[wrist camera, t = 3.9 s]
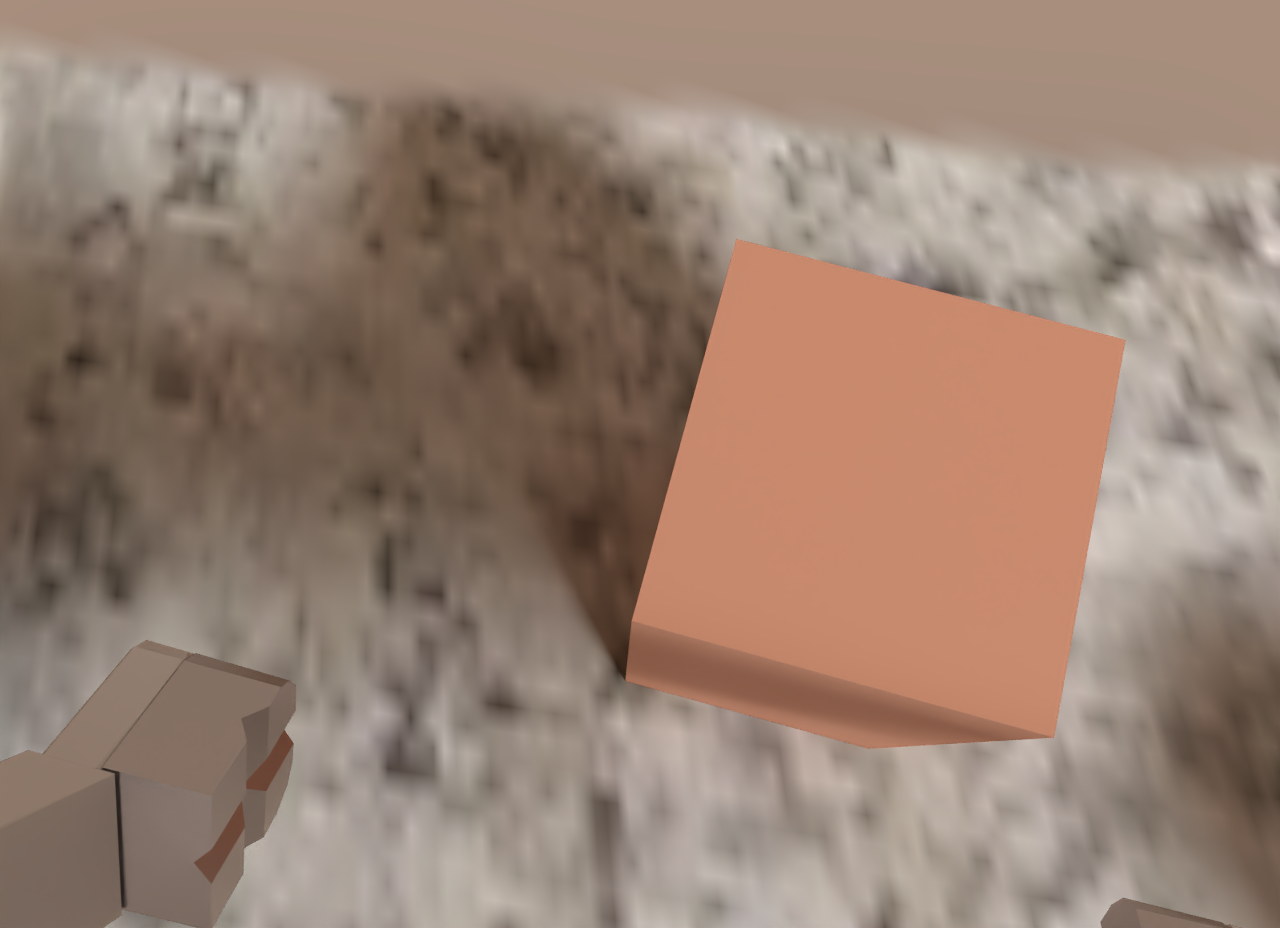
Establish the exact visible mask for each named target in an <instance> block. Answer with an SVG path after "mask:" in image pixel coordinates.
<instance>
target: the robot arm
mask: <svg viewBox="0 0 1280 928" xmlns="http://www.w3.org/2000/svg"><path fill="white" fill-rule="evenodd" d="M295 710H296V685H295V684H294V683H293V682H291V681H290V680H287V679H283V678H280V677H276V676H273V675H269V674H266V673H262V672H259V671H256V670H252V669H249V668H245V667H242V666H238V665H235V664H231V663H228V662H224V661H221V660H217V659H214V658H211V657H207V656H204V655H200V654H197V653H195V654H193V653H190V652H186V651H183V650H179V649H176V648H172V647H169V646H165V645H162V644H159V643H155V642H152V641H148V640H146V641H144V642H142V643H141V644H139V645H137V646H135V647H134V648H132V649H131V650H130V651H129V652H128V653H127V655H126V656H125V657H124V658H123V659H122V660H121V662H120V663H119V664H118V665H117V666H116V668H115V669H114V670H113V671H112V672H111V674H110V675H109V676H108V677H107V678H106V679H105V681H104V682H103V683H102V684H101V685H100V687H99V688H98V689H97V690H96V691H95V692H94V694H93V695H92V696H91V697H90V698H89V700H88V701H87V702H86V703H85V704H84V705H83V707H82V708H81V709H80V710H79V711H78V713H77V714H76V715H75V716H74V717H73V718H72V720H71V721H70V722H69V723H68V724H67V726H66V727H65V728H64V729H63V730H62V732H61V733H60V734H59V735H58V736H57V737H56V739H55V740H54V741H53V742H52V743H51V745H50V746H49V747H48V748H47V749H46V750H45V752H44V753H43V754H41V753H37V752H33V751H28V750H27V751H25V752H22V753H20V754H18V755H15V756H13V757H11V758H8V759H6V760H4V761H1V762H0V928H104V927H105V926H107V925H108V924H110V923H111V922H113V921H114V920H116V919H117V918H119V917H120V916H121V915H122V910H126V911H130V912H134V913H138V914H142V915H146V916H151V917H155V918H159V919H163V920H167V921H172V922H176V923H180V924H184V925H188V926H192V927H197V928H213V926H214V924H215V923H216V921H217V919H218V917H219V915H220V914H221V912H222V910H223V908H224V907H225V905H226V903H227V901H228V900H229V898H230V896H231V894H232V893H233V891H234V889H235V887H236V886H237V884H238V882H239V880H240V879H241V877H242V875H243V866H244V848H245V847H247V846H248V845H250V844H252V843H254V842H256V841H258V840H259V839H261V838H263V837H264V836H265V834H266V832H267V830H268V828H269V827H270V825H271V823H272V821H273V819H274V817H275V815H276V814H277V811H278V808H279V806H280V803H281V800H282V798H283V795H284V792H285V790H286V787H287V784H288V780H289V775H290V770H291V766H292V759H293V745H294V743H293V742H292V740H291V739H290V738H289V736H288V735H287V733H286V732H285V730H284V729H285V727H286V726H287V724H288V722H289V721H290V719H291V717H292V716H293V714H294V712H295ZM1101 926H1102V928H1241V927H1238V926H1234V925H1225V924H1223V923H1221V922H1218V921H1214V920H1210V919H1206V918H1202V917H1198V916H1194V915H1190V914H1186V913H1182V912H1178V911H1174V910H1170V909H1166V908H1162V907H1158V906H1154V905H1150V904H1146V903H1142V902H1138V901H1134V900H1130V899H1126V898H1122V899H1120V900H1119V901H1117V902H1116V903H1114V904H1112V905H1111V907H1110V908H1109V910H1108V911H1107V913H1106V914H1105V916H1104V917H1103V919H1102V921H1101Z"/></svg>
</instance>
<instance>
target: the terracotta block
mask: <svg viewBox="0 0 1280 928" xmlns="http://www.w3.org/2000/svg"><path fill="white" fill-rule="evenodd" d="M1124 345H1125V340H1124V339H1120V338H1116V337H1112V336H1108V335H1104V334H1101V333H1097V332H1093V331H1089V330H1085V329H1081V328H1077V327H1074V326H1070V325H1066V324H1062V323H1058V322H1054V321H1050V320H1047V319H1043V318H1039V317H1035V316H1031V315H1027V314H1023V313H1020V312H1016V311H1012V310H1008V309H1004V308H1000V307H996V306H993V305H989V304H985V303H981V302H977V301H973V300H969V299H966V298H962V297H958V296H954V295H950V294H946V293H942V292H939V291H935V290H931V289H927V288H923V287H919V286H915V285H912V284H908V283H904V282H900V281H896V280H892V279H888V278H885V277H881V276H877V275H873V274H869V273H865V272H861V271H858V270H854V269H850V268H846V267H842V266H838V265H834V264H831V263H827V262H823V261H819V260H815V259H811V258H807V257H804V256H800V255H796V254H792V253H788V252H784V251H780V250H777V249H773V248H769V247H765V246H761V245H757V244H753V243H750V242H746V241H742V240H738V239H736V243H735V247H734V250H733V254H732V258H731V261H730V265H729V269H728V272H727V276H726V280H725V283H724V287H723V290H722V294H721V298H720V301H719V305H718V309H717V312H716V316H715V320H714V323H713V327H712V330H711V334H710V338H709V341H708V345H707V349H706V352H705V356H704V360H703V363H702V367H701V371H700V374H699V378H698V381H697V385H696V389H695V392H694V396H693V400H692V403H691V407H690V411H689V414H688V418H687V421H686V425H685V429H684V432H683V436H682V440H681V443H680V447H679V451H678V454H677V458H676V462H675V465H674V469H673V472H672V476H671V480H670V483H669V487H668V491H667V494H666V498H665V502H664V505H663V509H662V512H661V516H660V520H659V523H658V527H657V531H656V534H655V538H654V542H653V545H652V549H651V553H650V556H649V560H648V563H647V567H646V571H645V574H644V578H643V582H642V585H641V589H640V593H639V596H638V600H637V603H636V607H635V611H634V614H633V618H632V623H631V632H630V642H629V651H628V661H627V670H626V680H625V681H628V682H631V683H635V684H638V685H642V686H645V687H649V688H653V689H656V690H660V691H663V692H667V693H671V694H674V695H678V696H681V697H685V698H689V699H692V700H696V701H699V702H703V703H706V704H710V705H714V706H717V707H721V708H724V709H728V710H732V711H735V712H739V713H742V714H746V715H749V716H753V717H757V718H760V719H764V720H767V721H771V722H775V723H778V724H782V725H785V726H789V727H792V728H796V729H800V730H803V731H807V732H810V733H814V734H818V735H821V736H825V737H828V738H832V739H836V740H839V741H843V742H846V743H850V744H853V745H857V746H861V747H864V748H868V749H870V748H887V747H904V746H920V745H937V744H954V743H971V742H988V741H1005V740H1022V739H1038V738H1054V735H1055V729H1056V724H1057V718H1058V713H1059V707H1060V702H1061V696H1062V690H1063V685H1064V679H1065V674H1066V668H1067V663H1068V657H1069V652H1070V646H1071V640H1072V635H1073V629H1074V624H1075V618H1076V613H1077V607H1078V601H1079V596H1080V590H1081V585H1082V579H1083V574H1084V568H1085V562H1086V557H1087V551H1088V546H1089V540H1090V535H1091V529H1092V523H1093V518H1094V512H1095V507H1096V501H1097V496H1098V490H1099V484H1100V479H1101V473H1102V468H1103V462H1104V457H1105V451H1106V445H1107V440H1108V434H1109V429H1110V423H1111V418H1112V412H1113V407H1114V401H1115V395H1116V390H1117V384H1118V379H1119V373H1120V368H1121V362H1122V356H1123V351H1124Z"/></svg>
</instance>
